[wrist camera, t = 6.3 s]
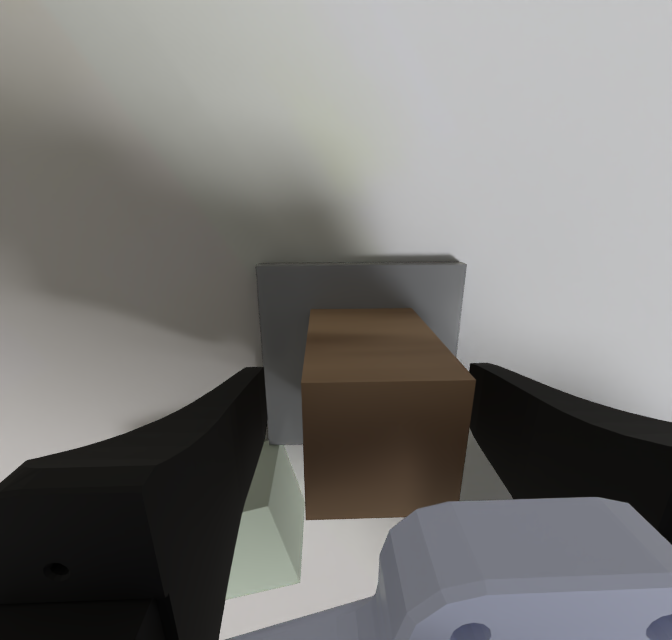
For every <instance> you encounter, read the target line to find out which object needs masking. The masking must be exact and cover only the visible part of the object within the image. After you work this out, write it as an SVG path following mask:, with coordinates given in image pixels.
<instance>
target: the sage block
mask: <svg viewBox="0 0 672 640" xmlns="http://www.w3.org/2000/svg"><path fill="white" fill-rule="evenodd" d="M304 510H305V501H304V498H303V495H302V493H301V490H300V487H299V485H298V482H297V479H296V476H295V474H294V471H293V468H292V466H291V463H290V460H289V458H288V455H287V452H286V450H285V447H284V445H269V440H267V441H264V444H263V447H262V451H261V454H260V457H259V460H258V464H257V467H256V470H255V473H254V476H253V479H252V482H251V486H250V489H249V492H248V495H247V498H246V501H245V505H244V509H243V512H242V516H241V521H240V526H239V531H238V536H237V541H236V546H235V551H234V556H233V561H232V566H231V572H230V577H229V582H228V588H227V593H226V599H225V600H227V599H232V598H236V597H240V596H245V595H249V594H254V593H258V592H262V591H267V590H271V589H276V588H280V587H284V586H289V585H293V584H298V583H300V576H301V559H302V543H303V527H304Z"/></svg>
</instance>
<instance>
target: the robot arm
mask: <svg viewBox="0 0 672 640" xmlns="http://www.w3.org/2000/svg"><path fill="white" fill-rule="evenodd" d="M469 373H470V374H471V375H472V376H473V377H474V378H475V379H476V384H475V391H474V399H473V406H472V413H471V420H470V429H471V432H472V434H473V436H474V438H475V440H476V441H477V443H478V445H479V446H480V448H481V449H482V451H483V452H484V454H485V456H486V457H487V459H488V460H489V462H490V463H491V465H492V466H493V468H494V470H495V471H496V473H497V474H498V476H499V477H500V479H501V480H502V482H503V483H504V485H505V487H506V488H507V490H508V491H509V493H510V494H511V496H512V498H513V499H511V500H479V501H447V502H443V503H439V504H435V505H431V506H427V507H422V508H418V509H416V510H415V511H413V512H412V513H411V514H410V515H408V516H407V517H406V518H404V519H403V520H402V521H400V522H399V523H398V524H397V525H395V526H394V527H393V528H391V529H390V531H389V533H388V535H387V538H386V540H385V543H384V545H383V548H382V550H381V553H380V557H379V577H378V585H377V590H376V594H375V595H374V596H372V597H368V598H365V599H361V600H358V601H355V602H351V603H348V604H344V605H341V606H338V607H334V608H331V609H327V610H324V611H321V612H317V613H314V614H310V615H307V616H304V617H300V618H297V619H293V620H290V621H287V622H283V623H280V624H276V625H273V626H270V627H266V628H263V629H259V630H256V631H253V632H249V633H246V634H242V635H239V636H236V637H232V638H229V639H225V640H672V422H667V421H662V420H658V419H654V418H649V417H645V416H641V415H637V414H633V413H629V412H625V411H621V410H618V409H614V408H611V407H607V406H604V405H601V404H597V403H594V402H591V401H588V400H585V399H582V398H579V397H576V396H573V395H571V394H568V393H565V392H562V391H560V390H557V389H554V388H552V387H549V386H547V385H544V384H542V383H539V382H537V381H535V380H532V379H530V378H527V377H525V376H522V375H520V374H518V373H515V372H513V371H510V370H508V369H505V368H502V367H500V366H497V365H494V364H490V363H470V371H469ZM267 421H268V414H267V401H266V388H265V374H264V367H246V368H244V369H242V370H241V371H239V372H238V373H236V374H235V375H233V376H232V377H231V378H229V379H228V380H226V381H225V382H223V383H222V384H221V385H219V386H218V387H216V388H215V389H213V390H212V391H210V392H209V393H207V394H205V395H204V396H202V397H201V398H199V399H197V400H196V401H194V402H193V403H191V404H189V405H187V406H186V407H184V408H182V409H180V410H178V411H176V412H174V413H172V414H170V415H168V416H166V417H164V418H162V419H160V420H157V421H155V422H152V423H150V424H147V425H145V426H143V427H140V428H138V429H135V430H133V431H130V432H128V433H125V434H122V435H119V436H116V437H113V438H110V439H107V440H104V441H101V442H97V443H94V444H91V445H87V446H84V447H80V448H77V449H73V450H68V451H64V452H60V453H56V454H52V455H48V456H44V457H40V458H35V459H30V460H27V461H25V462H24V463H23V464H22V465H20V466H19V467H18V468H17V469H16V470H15V471H14V472H12V473H11V474H10V475H9V476H8V477H7V478H5V479H4V480H3V481H2V482H1V483H0V640H219V634H220V628H221V622H222V616H223V611H224V605H225V599H226V593H227V588H228V582H229V577H230V572H231V566H232V561H233V556H234V551H235V546H236V541H237V536H238V531H239V526H240V521H241V516H242V512H243V509H244V505H245V501H246V498H247V495H248V492H249V489H250V486H251V482H252V479H253V476H254V473H255V470H256V467H257V464H258V460H259V457H260V454H261V451H262V447H263V444H264V439H265V433H266V427H267Z"/></svg>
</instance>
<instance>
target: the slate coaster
mask: <svg viewBox="0 0 672 640" xmlns="http://www.w3.org/2000/svg"><path fill="white" fill-rule="evenodd" d="M466 266H467V264H465V263H462V262H393V263H271V264H258V265H256V275H257V289H258V302H259V315H260V329H261V342H262V355H263V367H264V374H265V388H266V401H267V414H268V421H267V422H268V435H269V445H300V444H303V425H302V396H301V379H302V372H303V364H304V356H305V348H306V341H307V333H308V325H309V317H310V310H311V309H378V308H412V309H413V310H414V311H415V312H416V313H417V314H418V316H419V317H420V318H421V319H422V320H423V321H424V322H425V323H426V325H427V326H428V327H429V328H430V329H431V330H432V331H433V332H434V334H435V335H436V336H437V337H438V338H439V339H440V340H441V341H442V342H443V344H444V345H445V346H446V347H447V348H448V349H449V350H450V351H451V353H452V354H453V355H454V356H455V357H456V354H457V345H458V336H459V327H460V319H461V310H462V301H463V292H464V284H465V275H466Z"/></svg>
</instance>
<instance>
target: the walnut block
mask: <svg viewBox="0 0 672 640" xmlns="http://www.w3.org/2000/svg"><path fill="white" fill-rule="evenodd" d="M475 384H476V379H475V378H474V377H473V376H472V375H471V374H470V373H469V372H468V370H467V369H466V368H465V367H464V366H463V365H462V364H461V363H460V362H459V360H458V359H457V358H456V357H455V356H454V355H453V354H452V353H451V351H450V350H449V349H448V348H447V347H446V346H445V345H444V344H443V342H442V341H441V340H440V339H439V338H438V337H437V336H436V335H435V334H434V332H433V331H432V330H431V329H430V328H429V327H428V326H427V325H426V323H425V322H424V321H423V320H422V319H421V318H420V317H419V316H418V314H417V313H416V312H415V311H414V310H413V309H412V308H378V309H311V310H310V317H309V325H308V333H307V341H306V348H305V356H304V364H303V372H302V379H301V396H302V425H303V453H304V481H305V510H306V520H326V519H359V518H392V517H407V516H408V515H410V514H411V513H412V512H413V511H415V510H416V509H418V508H422V507H427V506H431V505H435V504H439V503H443V502H447V501H459V499H460V491H461V484H462V477H463V470H464V463H465V456H466V449H467V441H468V434H469V427H470V420H471V413H472V406H473V399H474V391H475Z"/></svg>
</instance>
